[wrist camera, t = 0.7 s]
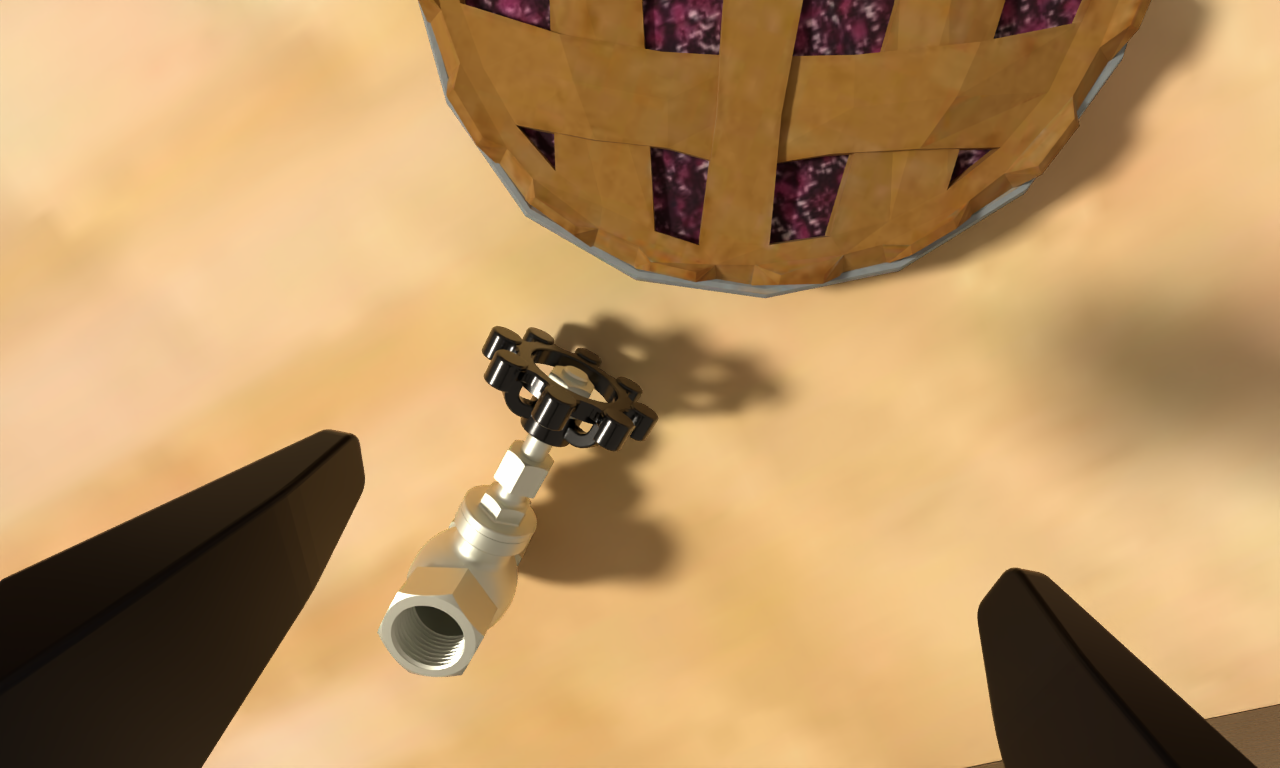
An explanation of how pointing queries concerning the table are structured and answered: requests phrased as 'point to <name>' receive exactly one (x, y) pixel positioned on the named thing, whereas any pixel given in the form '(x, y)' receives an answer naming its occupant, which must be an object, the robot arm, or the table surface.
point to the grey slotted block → (1242, 735)
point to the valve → (505, 500)
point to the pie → (770, 123)
